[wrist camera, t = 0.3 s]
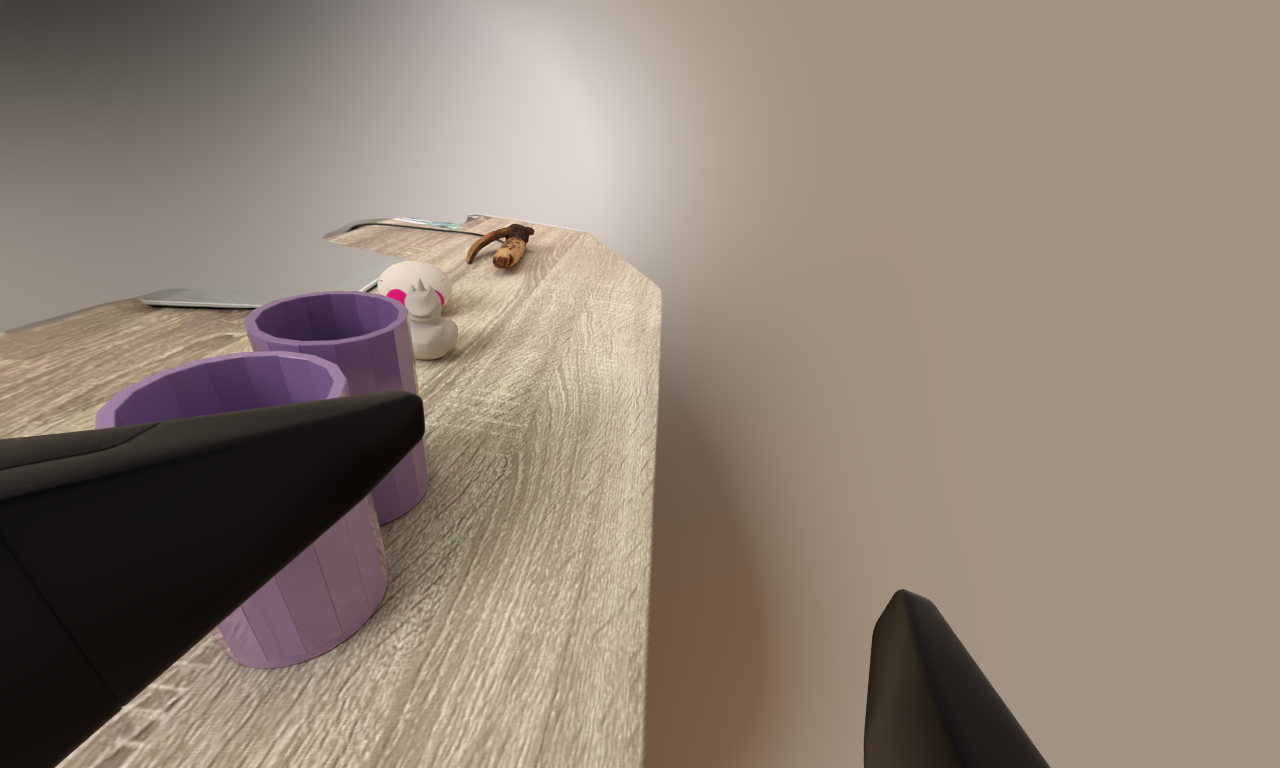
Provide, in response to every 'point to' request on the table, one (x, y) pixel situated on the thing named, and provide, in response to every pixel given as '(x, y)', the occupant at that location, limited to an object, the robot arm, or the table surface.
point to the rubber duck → (429, 323)
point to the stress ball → (413, 280)
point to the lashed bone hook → (504, 245)
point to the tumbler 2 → (353, 364)
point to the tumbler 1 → (331, 566)
